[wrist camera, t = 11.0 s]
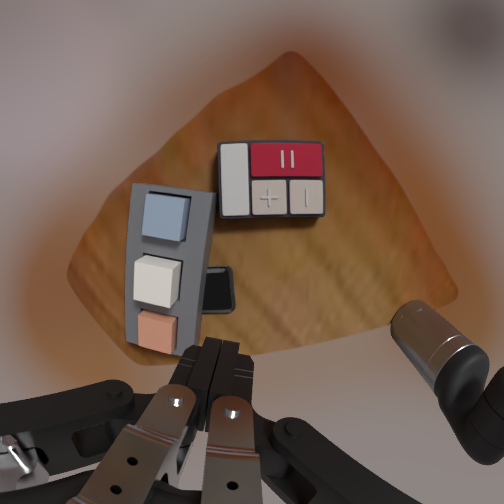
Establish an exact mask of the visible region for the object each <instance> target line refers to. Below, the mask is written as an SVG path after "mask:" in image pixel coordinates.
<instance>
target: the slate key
mask: <svg viewBox="0 0 504 504" xmlns="http://www.w3.org/2000/svg"><path fill="white" fill-rule="evenodd" d="M190 205H191V198H186V197H179V196H172V195H165V194H157V193H156V194H146V200H145V208H144V217H143V226H142V235H146V236H152V237H157V238H163V239H169V240H174V241H181V240H183V239H184V238H186V235H187V227H188V219H189V212H190Z"/></svg>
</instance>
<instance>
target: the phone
mask: <svg viewBox="0 0 504 504" xmlns="http://www.w3.org/2000/svg"><path fill="white" fill-rule="evenodd" d="M235 305H236V303H235V292H234V280H233V271H232V269H231V267H229V266H227V265H216V266H208V267H207V274H206V282H205V290H204V298H203V307H202V313H228V312H232V311H233V310H234V309H235Z"/></svg>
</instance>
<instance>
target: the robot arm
mask: <svg viewBox="0 0 504 504" xmlns="http://www.w3.org/2000/svg"><path fill="white" fill-rule="evenodd" d="M391 336H392V338H393V339H394V341H395V342H396V343H397V345H398V346H399V347H400V348H401V350H402V351H403V352H404V354H405V355H406V356H407V358H408V359H409V360H410V362H411V363H412V364H413V365H414V367H415V368H416V369H417V371H418V372H419V373H420V375H421V376H422V377H423V379H424V380H425V382H426V383H427V384H428V385H429V387H430V388H431V390H432V391H433V392H434V394H435V395H436V396H437V398H438V402H439V406H440V408H441V410H442V412H443V414H444V415H445V417H446V418H447V420H448V422H449V424H450V426H451V427H452V429H453V431H454V433H455V435H456V437H457V439H458V440H459V442H460V444H461V446H462V447H463V448H464V450H465V451H466V453H467V454H468V455H469V456H470V457H471V458H472V459H473V460H475V461H476V462H478V463H480V464H482V465H492V464H495V463H497V462H498V461H499V460H501V459H502V458H503V457H504V367H502V368H500V369H499V370H498V371H497V373H496V374H495V375H494V377H493V378H492V380H491V381H490V383H489V384H488V386H487V387H486V389H485V390H484V386H485V382H486V379H487V375H488V371H489V358H488V356H487V354H486V353H485V352H484V351H483V350H482V349H481V348H479V346H477V345H476V344H475V343H474V342H473V341H472V340H470V339H469V338H468V337H466V336H465V335H464V334H463V333H462V332H461V331H459V330H458V329H457V328H456V327H455V326H453V325H452V324H451V323H450V322H448V321H447V320H446V319H445V318H444V317H442V316H441V315H440V314H439V313H437V312H436V311H435V310H434V309H432V308H431V307H430V306H429V305H427V304H426V303H425V302H423V301H419V300H416V301H411V302H409V303H407V304H405V305H404V306H403V307H401V308H400V309H399V310H398V312H397V313H396V314H395V316H394V318H393V320H392V323H391ZM239 344H240V343H238V342H232V341H227V340H223V344H222V340H221V339H216V338H211V337H206V338H205V340H204V343H203V345H202V347H201V346H196V345H191V346H190V347H188V348H187V349H185V350H184V353H183V355H182V357H181V359H180V361H179V363H178V365H177V367H176V369H175V371H174V373H173V375H172V378H171V379H170V382H169V384H168V385H165V386H163V387H161V388H160V389H159V390H158V391H157V392H156V393H154V394H136V393H133V389H132V388H131V387H130V386H129V385H128V384H127V383H125V382H123V381H120V380H106V381H102V382H99V383H95V384H91V385H88V386H84V387H80V388H76V389H71V390H67V391H63V392H59V393H55V394H50V395H45V396H40V397H35V398H30V399H25V400H19V401H14V402H8V403H1V404H0V504H263V500H262V486H261V479H262V480H263V481H264V482H265V483H266V484H267V485H268V486H269V487H270V488H271V489H272V490H273V491H274V492H275V493H276V494H277V495H278V496H279V497H280V498H281V499H282V500H283V501H284V502H285V503H286V504H422V503H420V502H418V501H416V500H415V499H413V498H411V497H410V496H408V495H406V494H405V493H403V492H402V491H400V490H398V489H397V488H395V487H394V486H392V485H391V484H389V483H388V482H386V481H384V480H383V479H381V478H380V477H378V476H377V475H375V474H374V473H373V472H371V471H370V470H368V469H367V468H365V467H364V466H363V465H361V464H360V463H358V462H357V461H356V460H354V459H353V458H352V457H350V456H349V455H348V454H346V453H345V452H344V451H342V450H341V449H340V448H338V447H337V446H336V445H334V444H333V443H332V442H331V441H329V440H328V439H327V438H326V437H324V436H323V435H322V434H321V433H319V432H318V431H317V430H316V429H314V428H313V427H312V426H311V425H310V424H308V423H307V422H306V421H304V420H301V419H299V418H294V417H286V418H283V419H280V420H278V421H277V422H273V421H271V420H268V419H265V418H263V417H261V416H260V415H258V414H257V413H256V412H255V411H254V409H253V407H252V405H251V400H252V385H253V371H254V362H253V361H252V359H251V357H250V356H249V355H243V354H238V350H239ZM483 391H484V392H483ZM205 422H206V426H205ZM97 424H98V425H97ZM94 425H95V426H94ZM91 426H92V427H91ZM204 426H205V432H208V440H207V448H206V457H205V465H204V474H203V485H202V491H196V490H180V489H178V483H179V479H180V476H181V474H182V471H183V469H184V466H185V464H186V461H187V459H188V456H189V454H190V451H191V448H192V446H193V441H194V439H195V436H196V432H197V430H199V431H203V430H204ZM84 428H85V429H84ZM77 430H78V431H77ZM100 461H101V462H100ZM97 462H100V463H99V465H98V466H97V468H96V469H95V470H89V471H84V472H81V473H78V474H76V475H72V476H69V477H66V478H62V479H59V480H55V481H52V482H48V479H49V476H52V475H56V474H60V473H64V472H68V471H71V470H75V469H78V468H81V467H85V466H88V465H91V464H94V463H97ZM47 482H48V483H47Z"/></svg>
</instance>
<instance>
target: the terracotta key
mask: <svg viewBox="0 0 504 504" xmlns="http://www.w3.org/2000/svg"><path fill="white" fill-rule="evenodd" d="M177 330H178V317H175V316H171V315H167V314H163V313H159V312H155V311H151V310H147V309H144V310H143V311H142V312H141V313H140V314H139V315H138V344H139V346H142V347H145V348H149V349H152V350H156V351H160V352H163V353H167V354H171V353H172V352H173V350H174V348H175V346H176V344H177Z"/></svg>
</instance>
